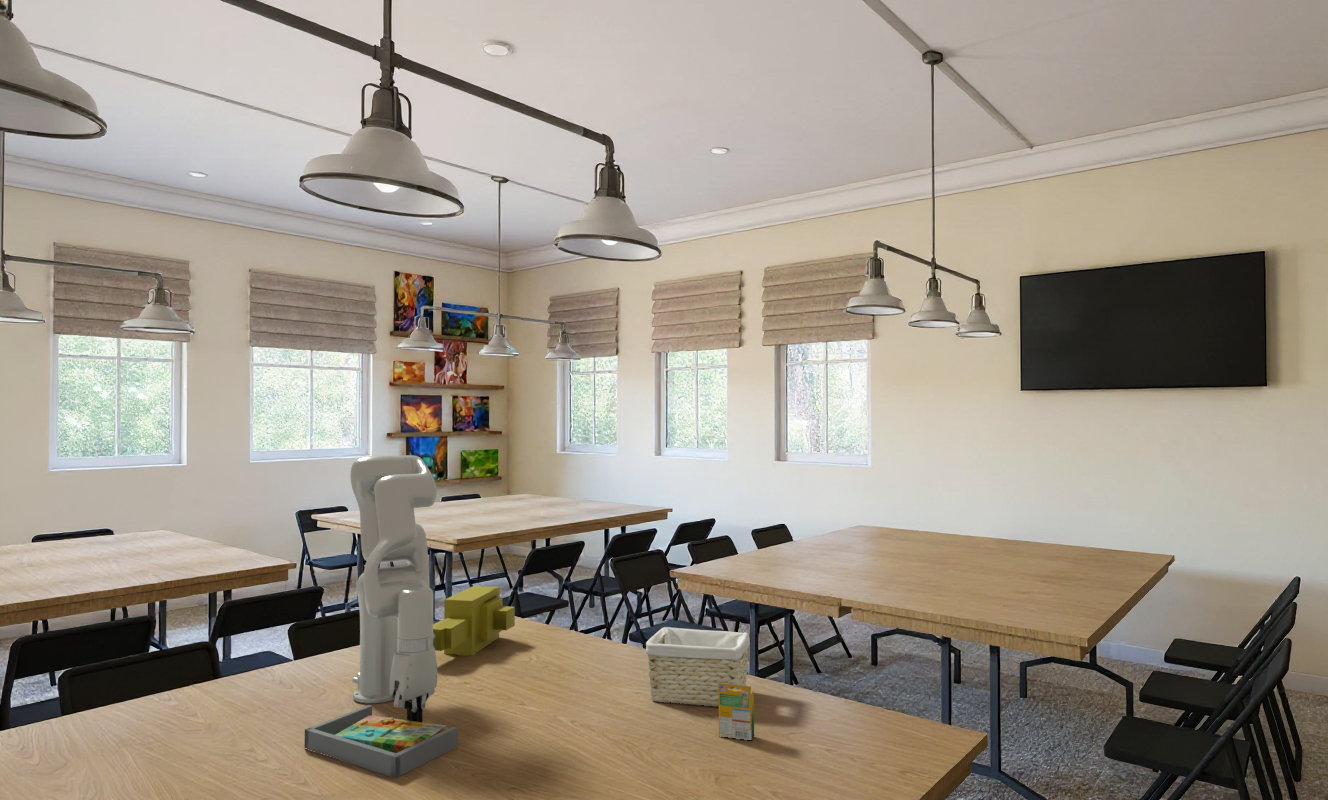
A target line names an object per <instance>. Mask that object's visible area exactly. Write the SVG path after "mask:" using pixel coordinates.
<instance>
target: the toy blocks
mask: <svg viewBox="0 0 1328 800" xmlns="http://www.w3.org/2000/svg"><path fill="white" fill-rule="evenodd" d="M500 594H501V593H500V586H485V585H484V586H482V585H481V586H480V585H473V586H470V587H469V588H466V589H464V590H462V591H460V592H457V593H455V594H454V595H451V596H449V597H447V598H445V599H444V600H443V601H444V606H443V607H444V608H443V609H444V610H443V611H444V612H443V613H444V615H443V617H444V618H443V619H442V620H440V621H437V622H435V623H433V633H434V634H435V638H434V639H433V646H434V648H435V652H436V651H438V652H442V651H443V654H444V655H452V654H457V656H469V655H472V656H473V654H474V655H475V654H476V652H477V653H478V652H479V650H480V651H481V650H483V649H484V648H486V647H487V646H489V645H491V644H492V643H493V642H495V641H496V640H497V638H498V639H500V633H501V632H502V631H508V630H510V629H511V628H513V627H515V626H516V625H515V624H516V621H515V620H516V619H515V618H516V617H515V615H516V614H515V613H516V612H515V611H516V610H515V606H509V605H508V606H507V605H503V599H504V598H502V597H501V596H500ZM494 640H495V641H494ZM491 642H492V643H491ZM488 644H489V645H488ZM485 646H486V647H485ZM482 648H483V649H482Z"/></svg>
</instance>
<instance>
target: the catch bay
mask: <svg viewBox="0 0 1328 800" xmlns="http://www.w3.org/2000/svg"><path fill="white" fill-rule="evenodd" d="M370 715H371V716H373V705H371V704H367V705H364V706H362V707H359V708H357V709H355V710H352V711H349V712H347V713H344V714H340V715H339V716H336V717H334V718H331V719H328V720H326V721H324V722H321V723H318V724H315V725H313V726H311V727H308V728H306V729H304V745H303V746H304V748H307V749H309V750H312V751H315V752H314V753H316V752H318V753H317V754H319V753H322V754H325V755H328V756H331V757H334V758H337V759H340V760H342V761H341V762H343V761H345V762H344V763H347V762H348V763H347V764H350V763H351V764H350V765H354V766H356V765H357V766H356V767H359V766H360V767H359V768H362V767H363V768H362V769H365V768H366V770H369V771H372V772H375V773H378V774H381V775H384V776H388V777H391V778H394V779H397V778H399V777H402V775H405V774H406V773H408V772H411V771H412V770H415V769H417V768H418V767H421V766H422V765H424V764H427V763H429V762H430V761H432V760H434V759H437V758H439V757H440V756H443V755H444V754H446V753H448V752H450V751H452V750H454V749H456V748H457V747H458V727H455V726H452V727H449V728H447V730H445V731H443V732H441V733H439V734H436V735H434V736H432V737H430V738H428V739H426V740H424V741H422V742H419V743H417V744H415V745H413V746H411V747H409V748H407V749H405V750H402V751H400V752H398V753H393V752H390V751H386V750H383V749H380V748H376V747H373V746H370V745H366V744H363V743H360V742H356V741H353V740H350V739H346V738H343V737H340V736H336V734H337V733H339V732H341V731H343V730H344V729H346V728H348V727H350V726H351V725H353V724H355V723H357V722H359V721H360V720H362V719H364V718H366V717H367V716H370ZM309 750H308V751H309ZM312 751H311V752H312ZM322 754H321V755H322ZM325 755H324V756H325ZM328 756H327V757H328ZM331 757H330V758H331ZM334 758H333V759H334ZM337 759H336V760H337ZM340 760H339V761H340Z"/></svg>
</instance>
